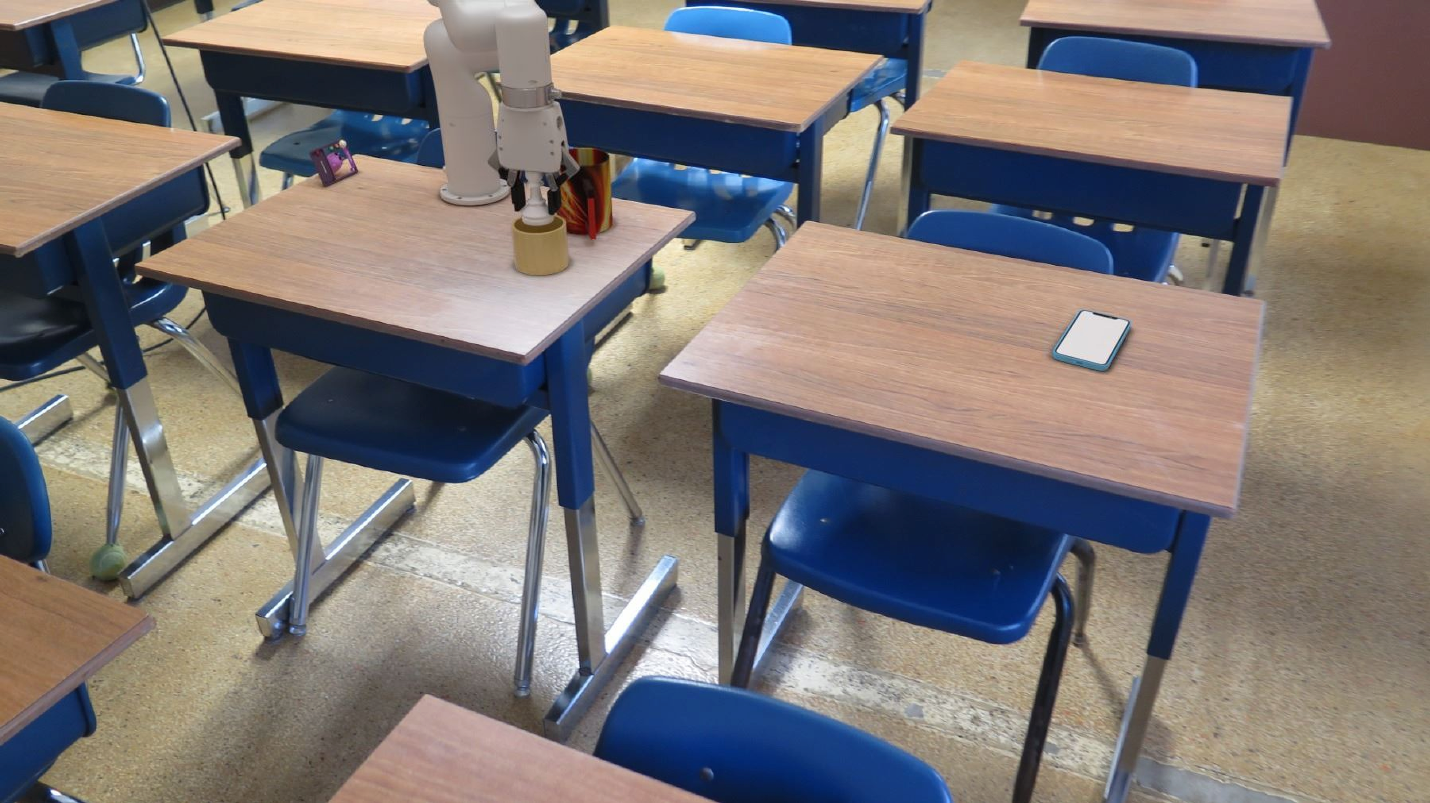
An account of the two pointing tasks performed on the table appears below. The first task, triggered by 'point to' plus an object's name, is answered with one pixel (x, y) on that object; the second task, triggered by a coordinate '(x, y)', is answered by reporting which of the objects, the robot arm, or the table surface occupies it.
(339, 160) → the game card
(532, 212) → the chess pawn
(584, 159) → the mug
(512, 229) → the yellow cup
